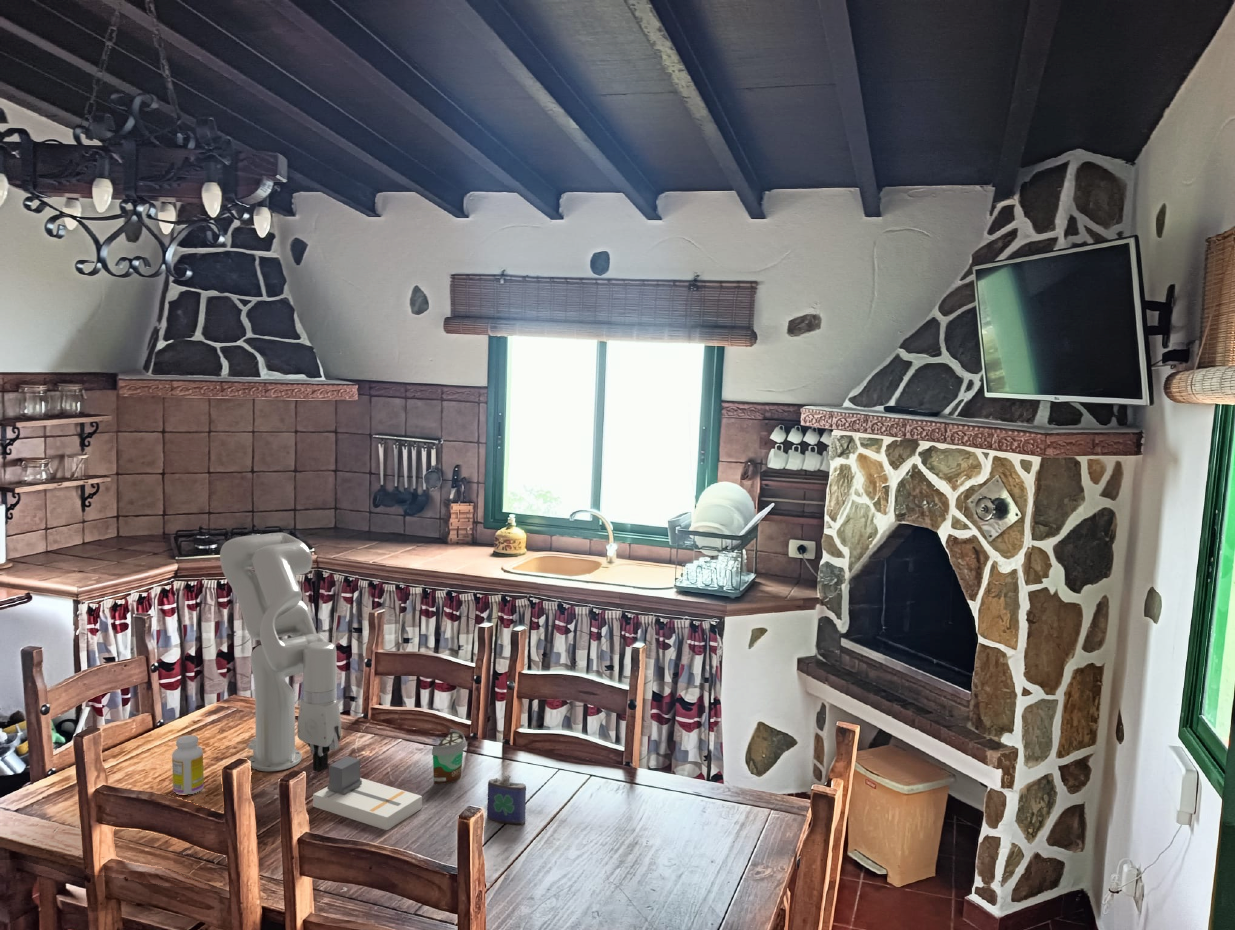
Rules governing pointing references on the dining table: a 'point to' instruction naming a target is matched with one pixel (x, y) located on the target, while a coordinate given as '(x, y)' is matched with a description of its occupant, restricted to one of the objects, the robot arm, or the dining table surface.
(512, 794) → the flask
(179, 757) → the supplement bottle
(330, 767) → the fader tab
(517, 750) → the dining table surface
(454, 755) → the food container
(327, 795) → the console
